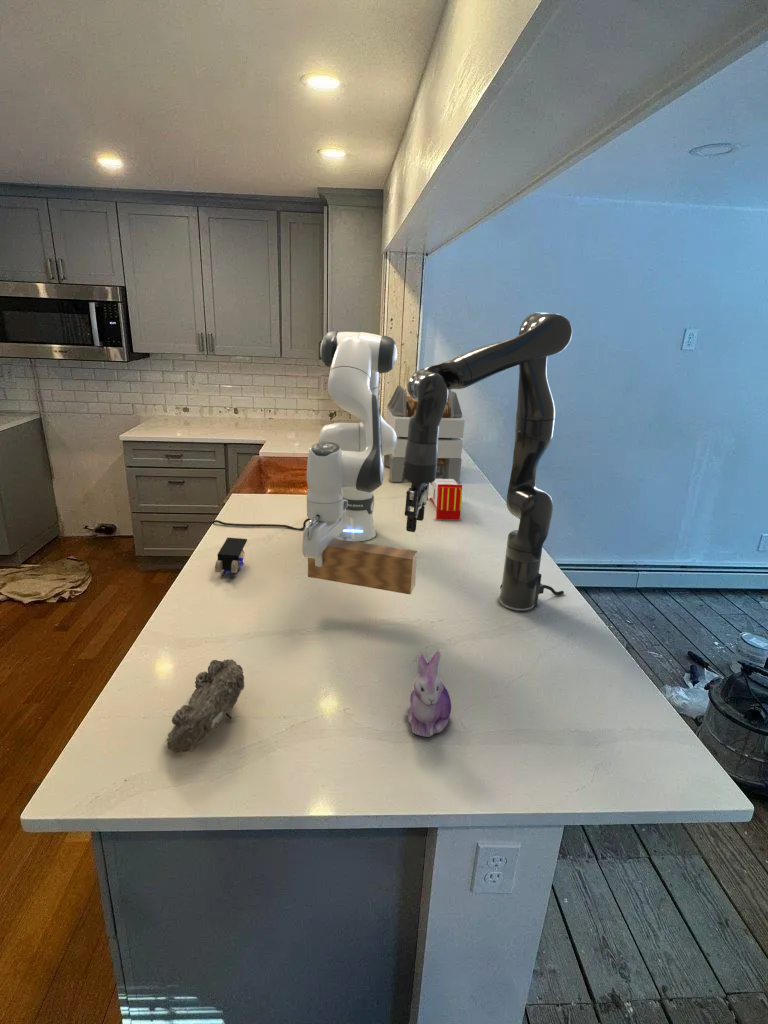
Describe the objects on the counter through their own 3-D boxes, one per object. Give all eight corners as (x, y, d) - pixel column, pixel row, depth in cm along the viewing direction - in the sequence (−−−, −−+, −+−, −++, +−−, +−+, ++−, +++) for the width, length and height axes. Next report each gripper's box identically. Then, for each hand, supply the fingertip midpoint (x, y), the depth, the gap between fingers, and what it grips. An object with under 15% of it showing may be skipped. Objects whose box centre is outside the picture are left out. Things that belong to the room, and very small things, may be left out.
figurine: (421, 746, 103) (427, 677, 98) (394, 712, 111) (398, 646, 106) (464, 731, 107) (471, 664, 102) (435, 699, 116) (441, 635, 110)
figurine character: (238, 584, 162) (249, 557, 175) (236, 562, 158) (247, 536, 172) (215, 584, 161) (227, 556, 175) (212, 561, 158) (225, 535, 171)
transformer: (382, 463, 289) (386, 382, 275) (445, 464, 293) (451, 384, 279) (390, 482, 257) (394, 392, 243) (460, 483, 261) (468, 394, 247)
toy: (454, 474, 240) (466, 486, 210) (452, 505, 242) (464, 521, 213) (426, 473, 239) (434, 485, 210) (424, 504, 242) (432, 520, 212)
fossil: (192, 660, 117) (244, 628, 112) (224, 691, 120) (276, 661, 115) (142, 746, 98) (202, 712, 93) (182, 779, 101) (242, 748, 96)
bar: (307, 577, 144) (307, 542, 141) (315, 568, 149) (315, 535, 146) (410, 594, 138) (412, 559, 134) (415, 585, 142) (417, 551, 139)
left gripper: (320, 525, 129) (320, 579, 134) (350, 498, 148) (349, 547, 153) (295, 521, 131) (295, 575, 136) (327, 495, 149) (327, 543, 154)
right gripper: (430, 469, 123) (424, 538, 129) (442, 455, 136) (435, 518, 142) (397, 464, 125) (392, 532, 131) (412, 451, 138) (406, 514, 144)
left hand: (324, 560), depth 144 cm, fingers closed on bar, 5 cm apart
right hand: (415, 525), depth 136 cm, fingers open, 8 cm apart
